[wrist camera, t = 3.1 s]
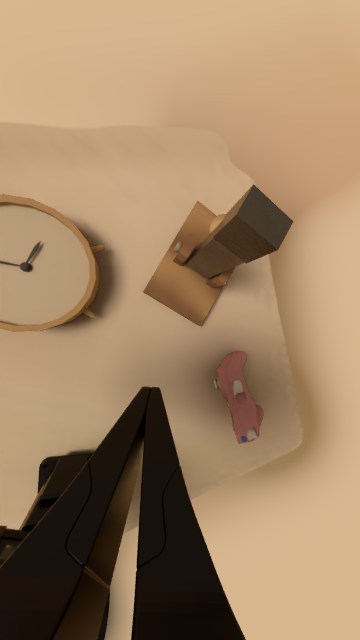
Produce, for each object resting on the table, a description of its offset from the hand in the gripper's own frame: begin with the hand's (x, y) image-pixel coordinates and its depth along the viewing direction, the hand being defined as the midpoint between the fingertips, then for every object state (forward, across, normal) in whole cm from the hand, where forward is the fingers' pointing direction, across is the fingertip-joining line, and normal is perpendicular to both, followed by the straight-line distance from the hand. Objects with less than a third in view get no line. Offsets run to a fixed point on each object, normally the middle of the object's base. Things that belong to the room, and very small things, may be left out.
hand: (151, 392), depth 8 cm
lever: (+14, -4, -4) cm, 15 cm away
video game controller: (+11, -9, +12) cm, 18 cm away
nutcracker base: (+16, -3, -3) cm, 17 cm away
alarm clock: (+12, +15, -2) cm, 19 cm away
